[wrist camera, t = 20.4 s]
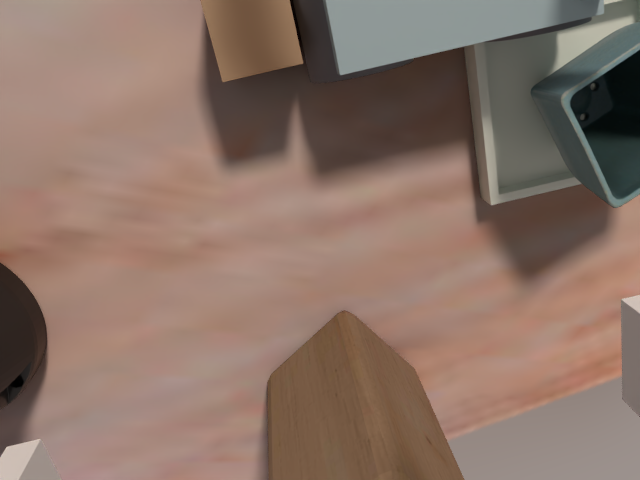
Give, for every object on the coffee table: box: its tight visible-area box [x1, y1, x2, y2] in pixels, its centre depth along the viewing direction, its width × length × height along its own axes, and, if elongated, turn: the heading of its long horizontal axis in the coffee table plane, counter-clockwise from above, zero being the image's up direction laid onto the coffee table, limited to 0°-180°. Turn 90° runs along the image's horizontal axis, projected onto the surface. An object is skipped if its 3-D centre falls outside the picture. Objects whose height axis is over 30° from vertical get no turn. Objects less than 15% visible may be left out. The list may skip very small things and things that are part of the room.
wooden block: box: [268, 310, 464, 480], centre depth 40 cm, size 10×10×20 cm
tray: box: [464, 0, 640, 205], centre depth 42 cm, size 13×13×2 cm
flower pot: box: [531, 22, 640, 208], centre depth 38 cm, size 9×9×9 cm
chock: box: [200, 0, 303, 82], centre depth 36 cm, size 5×6×7 cm
